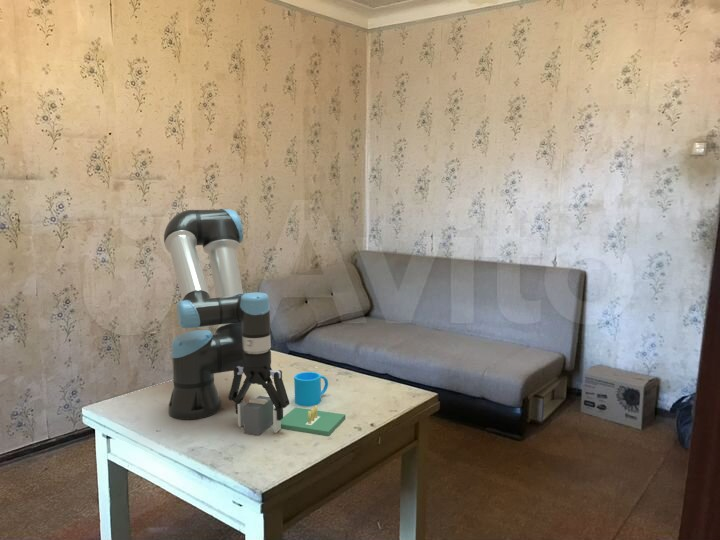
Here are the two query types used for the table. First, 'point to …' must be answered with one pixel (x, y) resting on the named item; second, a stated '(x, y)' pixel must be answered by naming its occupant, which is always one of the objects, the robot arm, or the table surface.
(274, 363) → the table surface
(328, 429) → the board
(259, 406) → the grey block with band
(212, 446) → the table surface
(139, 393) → the table surface
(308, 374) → the mug
